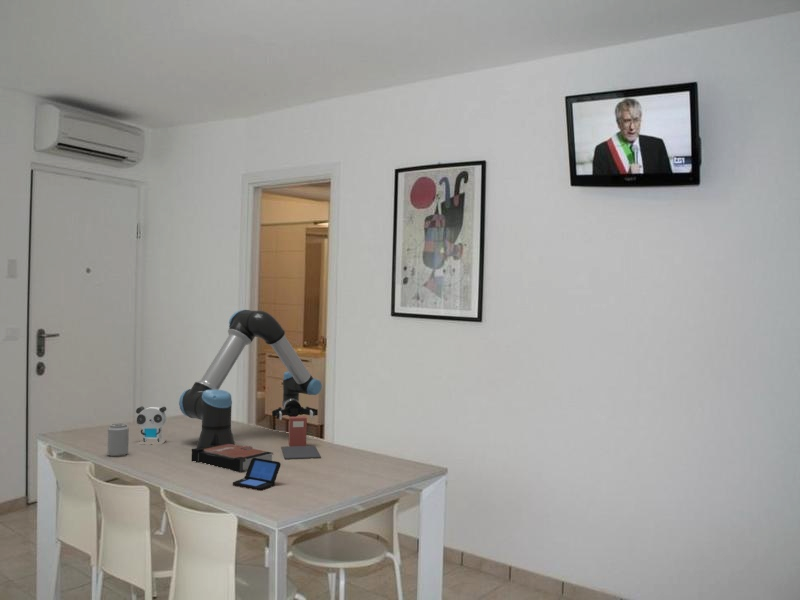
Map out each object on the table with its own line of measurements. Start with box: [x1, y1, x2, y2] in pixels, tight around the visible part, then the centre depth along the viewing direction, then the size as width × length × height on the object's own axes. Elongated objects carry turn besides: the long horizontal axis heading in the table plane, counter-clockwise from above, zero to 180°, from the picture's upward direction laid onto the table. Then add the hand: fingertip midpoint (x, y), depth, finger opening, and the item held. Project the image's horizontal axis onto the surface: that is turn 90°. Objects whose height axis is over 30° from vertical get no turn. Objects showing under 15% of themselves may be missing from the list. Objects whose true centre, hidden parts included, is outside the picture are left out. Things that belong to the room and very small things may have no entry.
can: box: [107, 422, 130, 457], centre depth 263 cm, size 8×8×12 cm
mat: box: [280, 445, 322, 460], centre depth 272 cm, size 20×14×1 cm
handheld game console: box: [232, 458, 282, 491], centre depth 226 cm, size 12×11×7 cm
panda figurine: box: [135, 406, 167, 442], centre depth 286 cm, size 12×11×15 cm
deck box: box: [288, 415, 308, 446], centre depth 285 cm, size 4×7×12 cm, turn 104°
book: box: [191, 443, 274, 473], centre depth 255 cm, size 26×18×5 cm
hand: (296, 416), depth 295 cm, fingers open, 13 cm apart
